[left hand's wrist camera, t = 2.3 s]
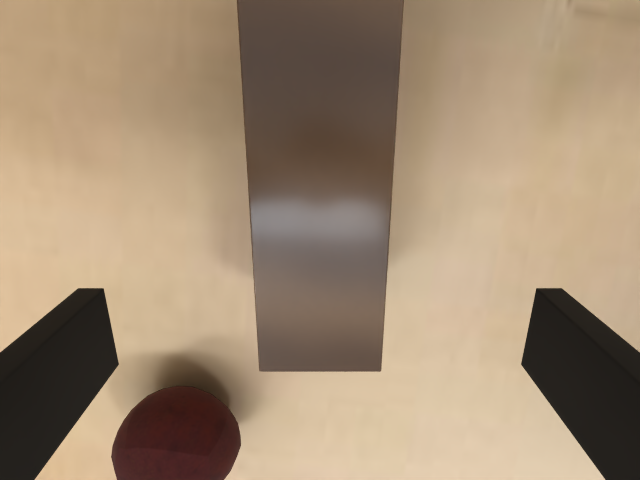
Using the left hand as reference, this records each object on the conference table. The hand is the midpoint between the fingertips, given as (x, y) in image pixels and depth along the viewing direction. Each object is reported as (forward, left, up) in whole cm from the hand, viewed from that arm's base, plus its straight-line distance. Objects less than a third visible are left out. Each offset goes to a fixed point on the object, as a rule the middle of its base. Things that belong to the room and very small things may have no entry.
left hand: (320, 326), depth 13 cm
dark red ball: (-3, +17, -13) cm, 22 cm away
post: (+13, -15, -13) cm, 24 cm away
